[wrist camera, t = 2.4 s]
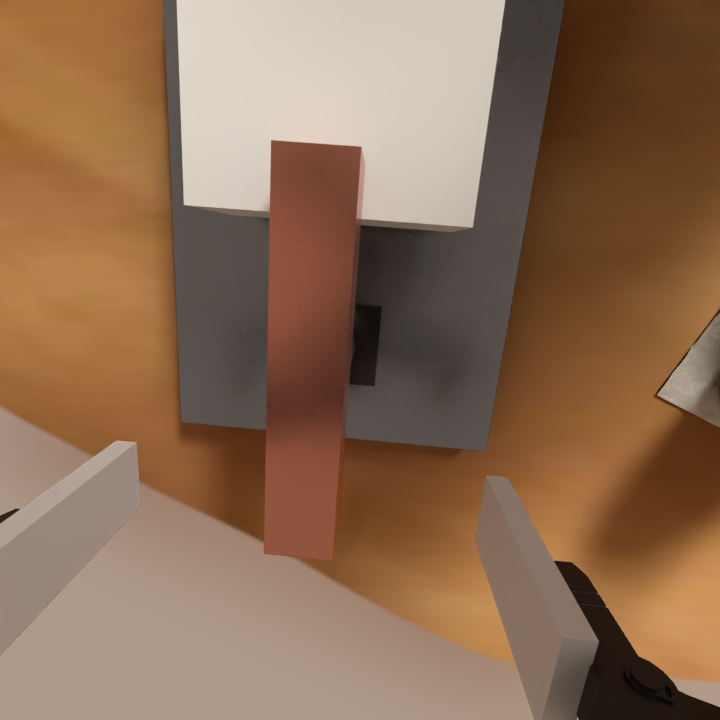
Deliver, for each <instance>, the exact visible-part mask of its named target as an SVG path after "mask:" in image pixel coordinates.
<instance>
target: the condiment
mask: <svg viewBox="0 0 720 720" xmlns="http://www.w3.org/2000/svg"><path fill="white" fill-rule="evenodd" d="M713 373H714V374H715V379H713V378H712V375H713ZM716 381H717V382H718V383H717V385H715V384H714V383H715V382H716ZM657 396H659V397H661V398H663V399H665V400H667V401H669V402H671V403H673V404H675V405H677V406H679V407H680V408H682V409H684V410H686V411H688V412H690V413H692V414H694V415H696V416H698V417H700V418H702V419H703V420H705V421H707V422H709V423H711V424H713V425H715V426H717V427H719V428H720V313H719V314H718V315H717V316H716V317H715V318H714V320H713V321H712V322H711V324H710V325H709V326H708V327H707V329H706V330H705V332H704V333H703V334H702V336H701V337H700V338H699V340H698V341H697V342H696V343H694V344H693V345H692V346H691V349H690V351H689V353H688V354H687V356H686V357H685V359H684V360H683V361H682V363H681V364H680V365H679V366H678V367H677V368H676V369H675V371H674V372H673V373H672V375H671V377H670V378H669V380H668V381H667V382H666V384H665V385H664V387H663V388H662V389H661V390H660V392H659V393H658V394H657Z"/></svg>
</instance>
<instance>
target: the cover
mask: <svg viewBox="0 0 720 720" xmlns="http://www.w3.org/2000/svg"><path fill="white" fill-rule="evenodd" d="M504 6H505V0H177V25H178V53H179V81H180V109H181V138H182V166H183V194H184V205H186V206H191V207H196V208H200V209H205V210H210V211H215V212H220V213H225V214H229V215H239V216H251V217H264V218H270V170H271V140H277V141H291V142H305V143H318V144H332V145H346V146H360V147H362V151H363V156H364V160H365V177H364V191H363V204H362V218H361V225H366V226H379V227H392V228H405V229H417V230H430V231H443V232H454V231H459V230H464V229H468V228H473V222H474V215H475V208H476V201H477V195H478V188H479V181H480V174H481V167H482V160H483V153H484V146H485V139H486V132H487V125H488V118H489V111H490V104H491V97H492V90H493V83H494V76H495V69H496V62H497V55H498V48H499V41H500V34H501V27H502V20H503V13H504Z"/></svg>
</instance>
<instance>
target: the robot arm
mask: <svg viewBox="0 0 720 720" xmlns="http://www.w3.org/2000/svg"><path fill="white" fill-rule="evenodd" d="M140 506H141V502H140V487H139V472H138V458H137V443H136V442H127V441H115V442H114V443H112V444H111V445H110V446H108V447H107V448H105V449H104V450H103V451H101V452H100V453H98V454H97V455H96V456H94V457H93V458H91V459H90V460H89V461H87V462H86V463H84V464H83V465H82V466H80V467H79V468H77V469H76V470H75V471H74V472H72V473H70V474H69V475H68V476H66V477H65V478H63V479H62V480H61V481H60V482H58V483H56V484H55V485H54V486H52V487H51V488H49V489H48V490H47V491H45V492H44V493H42V494H41V495H40V496H38V497H37V498H36V499H34V500H33V501H32V502H30V503H29V504H27V505H26V506H24V507H23V508H22V509H14V510H12V511H10V512H7V513H5V514H3V515H1V516H0V655H1V654H2V653H3V652H4V651H5V650H6V649H7V648H8V647H9V646H10V645H11V643H12V642H13V641H14V640H15V639H16V638H17V637H18V636H19V635H20V634H21V633H22V632H23V631H24V630H25V629H26V627H27V626H28V625H29V624H30V623H31V622H32V621H33V620H34V619H35V618H36V617H37V616H38V615H39V614H40V613H41V612H42V611H43V609H44V608H45V607H46V606H47V605H48V604H49V603H50V602H51V601H52V600H53V599H54V598H55V597H56V596H57V595H58V594H59V592H60V591H61V590H62V589H63V588H64V587H65V586H66V585H67V584H68V583H69V582H70V581H71V580H72V579H73V578H74V577H75V576H76V574H77V573H78V572H79V571H80V570H81V569H82V568H83V567H84V566H85V565H86V564H87V563H88V561H90V559H91V558H92V557H93V556H94V555H95V554H96V553H97V552H98V551H99V550H100V549H101V548H102V547H103V546H104V545H105V544H106V543H107V542H108V540H109V539H110V538H111V537H112V536H113V535H114V534H115V533H116V532H117V531H118V530H119V529H120V528H121V527H122V526H123V524H124V523H125V522H126V521H127V520H128V519H129V518H130V517H131V516H132V515H133V514H134V513H135V512H136V511H137V510H138V509H139V508H140ZM475 541H476V544H477V547H478V550H479V553H480V556H481V559H482V562H483V565H484V568H485V571H486V574H487V577H488V580H489V583H490V587H491V590H492V593H493V596H494V599H495V602H496V605H497V608H498V611H499V614H500V617H501V620H502V623H503V626H504V629H505V632H506V635H507V638H508V641H509V644H510V647H511V650H512V653H513V656H514V660H515V663H516V666H517V669H518V672H519V675H520V678H521V681H522V684H523V686H524V690H525V693H526V696H527V699H528V702H529V705H530V708H531V711H532V714H533V717H534V720H577V717H578V719H579V720H720V707H718V706H715V705H712V704H710V703H707V702H704V701H702V700H699V699H696V698H694V697H691V696H688V695H686V694H684V693H682V692H680V691H678V689H677V687H676V686H675V684H674V683H673V681H672V680H671V679H670V678H669V677H668V676H667V675H666V674H665V673H664V672H663V671H662V670H660V669H659V668H658V667H656V666H655V665H654V664H652V663H651V662H649V661H647V660H645V659H643V658H641V657H639V656H638V655H637V653H636V652H635V650H634V649H633V647H632V646H631V644H630V642H629V641H628V639H627V638H626V636H625V635H624V633H623V631H622V630H621V628H620V627H619V625H618V624H617V622H616V620H615V619H614V617H613V616H612V614H611V613H610V611H609V609H608V608H606V605H605V603H604V602H603V600H602V598H601V597H600V595H598V594H597V591H596V589H595V587H594V586H593V584H592V583H591V581H590V580H589V578H588V577H587V576H586V575H585V574H584V573H583V572H582V571H581V570H580V569H579V568H577V567H576V566H575V565H574V564H573V563H572V562H562V561H554V560H553V559H552V557H551V555H550V553H549V551H548V550H547V548H546V546H545V544H544V542H543V541H542V539H541V537H540V535H539V534H538V532H537V530H536V528H535V526H534V525H533V523H532V521H531V519H530V518H529V516H528V514H527V512H526V510H525V509H524V507H523V505H522V503H521V501H520V500H519V498H518V496H517V494H516V493H515V491H514V489H513V487H512V485H511V484H510V482H509V480H508V478H507V477H500V476H489V475H486V478H485V484H484V489H483V495H482V501H481V507H480V512H479V518H478V524H477V530H476V535H475Z"/></svg>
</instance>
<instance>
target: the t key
mask: <svg viewBox="0 0 720 720" xmlns="http://www.w3.org/2000/svg"><path fill="white" fill-rule="evenodd" d="M364 177H365V160H364V156H363V151H362V147H360V146H346V145H332V144H318V143H305V142H291V141H277V140H271V170H270V228H269V286H268V344H267V402H266V460H265V518H264V554H272V555H282V556H291V557H300V558H310V559H319V560H329V561H332V559H333V553H334V547H335V541H336V535H337V529H338V523H339V516H340V502H341V489H342V475H343V462H344V448H345V435H346V421H347V408H348V394H349V380H350V367H351V361H352V358H353V354H354V351H355V339H354V337H353V326H354V313H355V299H356V286H357V272H358V259H359V245H360V231H361V218H362V204H363V191H364Z"/></svg>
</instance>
